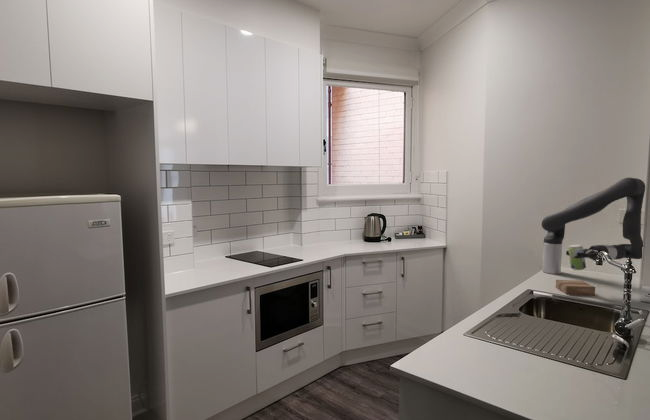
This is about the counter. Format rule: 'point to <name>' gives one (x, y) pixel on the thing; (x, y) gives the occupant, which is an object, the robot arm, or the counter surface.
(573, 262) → the beverage can
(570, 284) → the walnut base
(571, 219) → the robot arm
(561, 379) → the counter surface
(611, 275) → the counter surface
